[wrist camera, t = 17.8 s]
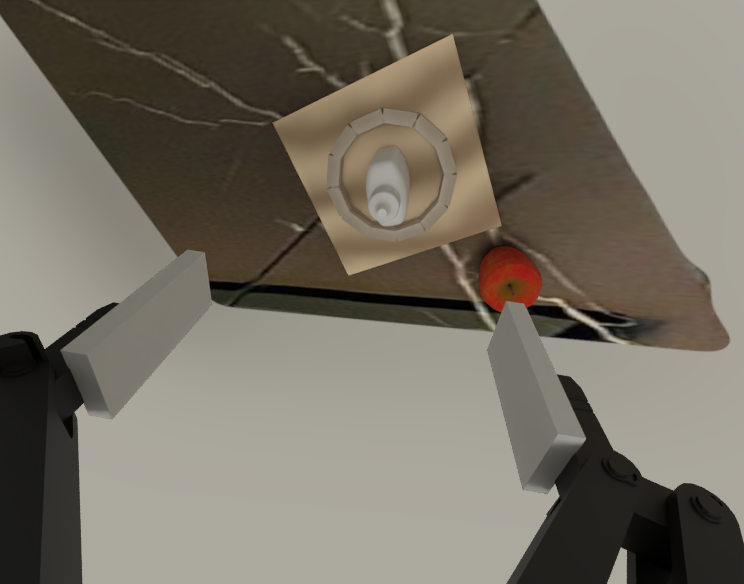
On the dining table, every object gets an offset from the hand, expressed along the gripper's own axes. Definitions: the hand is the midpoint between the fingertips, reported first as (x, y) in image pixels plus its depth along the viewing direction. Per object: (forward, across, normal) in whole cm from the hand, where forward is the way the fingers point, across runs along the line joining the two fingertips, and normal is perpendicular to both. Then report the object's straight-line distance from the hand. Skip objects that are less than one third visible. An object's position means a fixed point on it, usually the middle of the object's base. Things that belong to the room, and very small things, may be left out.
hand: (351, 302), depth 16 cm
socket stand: (+26, 0, 0) cm, 26 cm away
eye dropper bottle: (+25, 0, 0) cm, 25 cm away
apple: (+26, +14, -9) cm, 31 cm away
